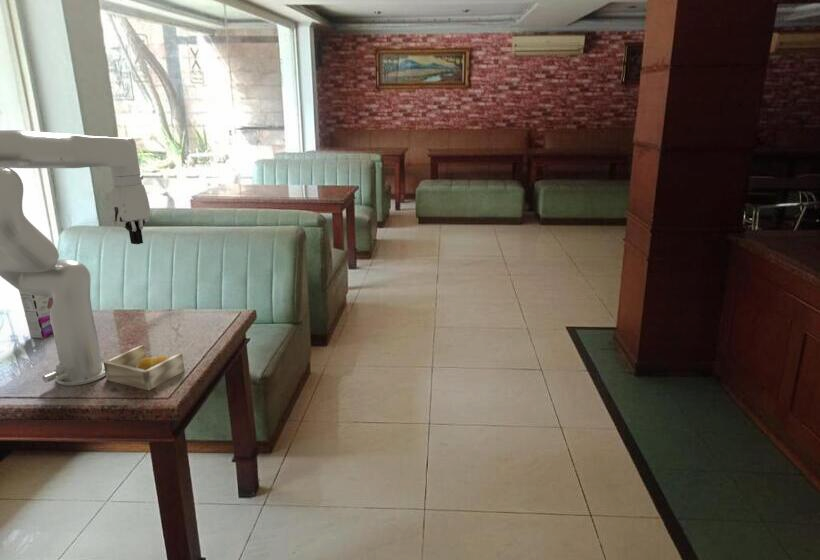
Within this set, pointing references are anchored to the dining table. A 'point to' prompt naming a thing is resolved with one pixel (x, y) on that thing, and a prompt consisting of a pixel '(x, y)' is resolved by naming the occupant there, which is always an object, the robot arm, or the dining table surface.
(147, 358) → the bread roll
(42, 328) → the candy bar box
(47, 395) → the dining table surface
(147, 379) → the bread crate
